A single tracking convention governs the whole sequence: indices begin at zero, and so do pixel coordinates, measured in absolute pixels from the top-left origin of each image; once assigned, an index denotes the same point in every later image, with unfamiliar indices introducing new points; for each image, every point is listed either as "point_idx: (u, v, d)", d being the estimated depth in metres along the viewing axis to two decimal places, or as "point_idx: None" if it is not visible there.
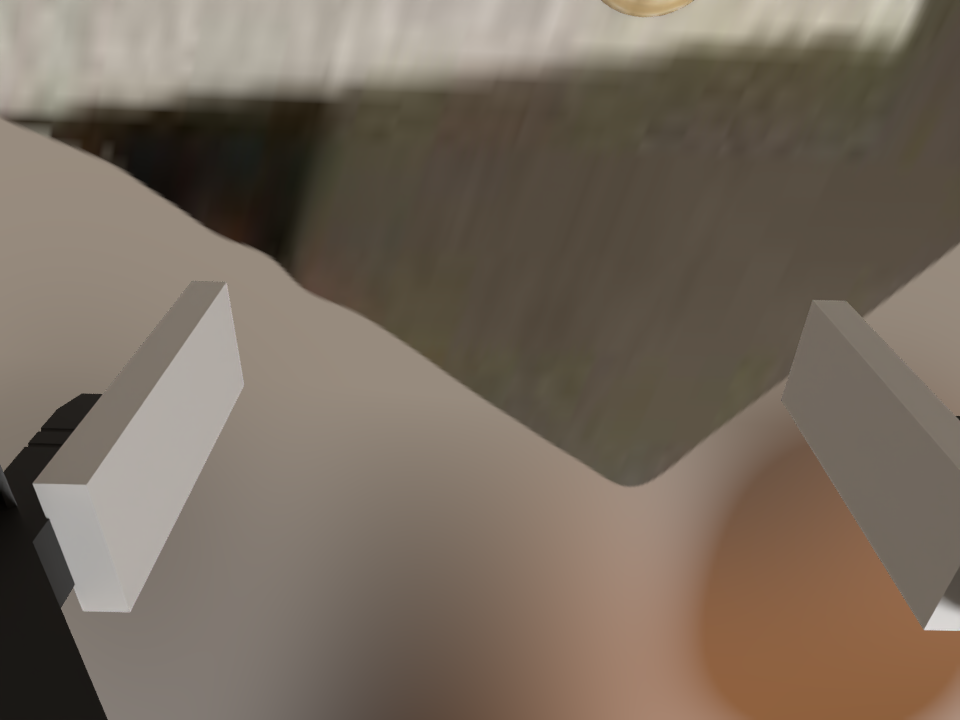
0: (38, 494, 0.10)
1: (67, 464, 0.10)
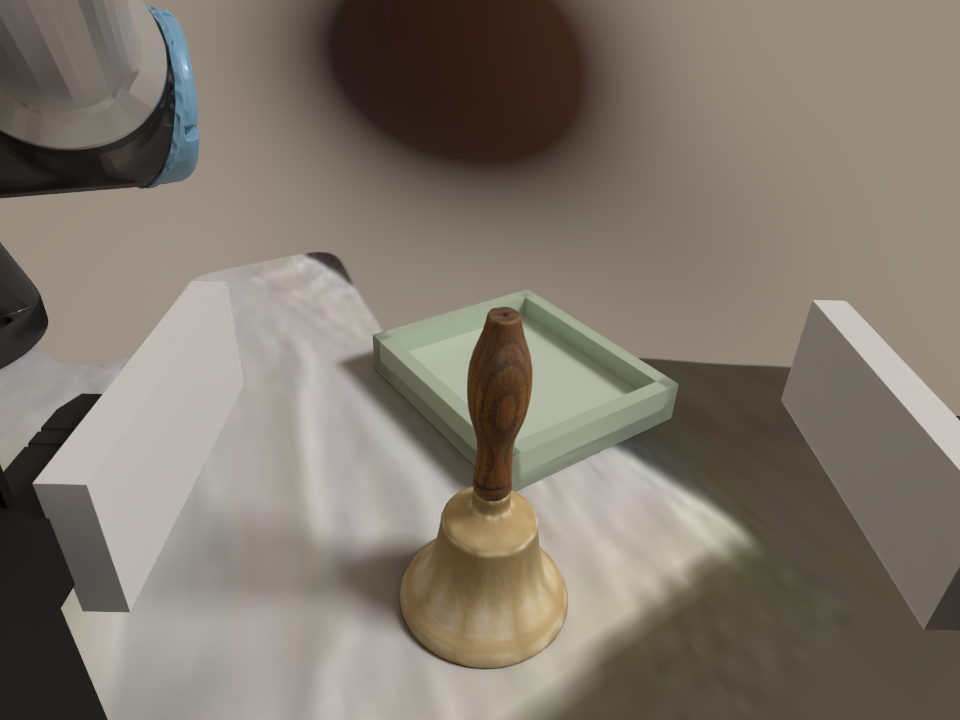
0: (38, 494, 0.10)
1: (67, 464, 0.10)
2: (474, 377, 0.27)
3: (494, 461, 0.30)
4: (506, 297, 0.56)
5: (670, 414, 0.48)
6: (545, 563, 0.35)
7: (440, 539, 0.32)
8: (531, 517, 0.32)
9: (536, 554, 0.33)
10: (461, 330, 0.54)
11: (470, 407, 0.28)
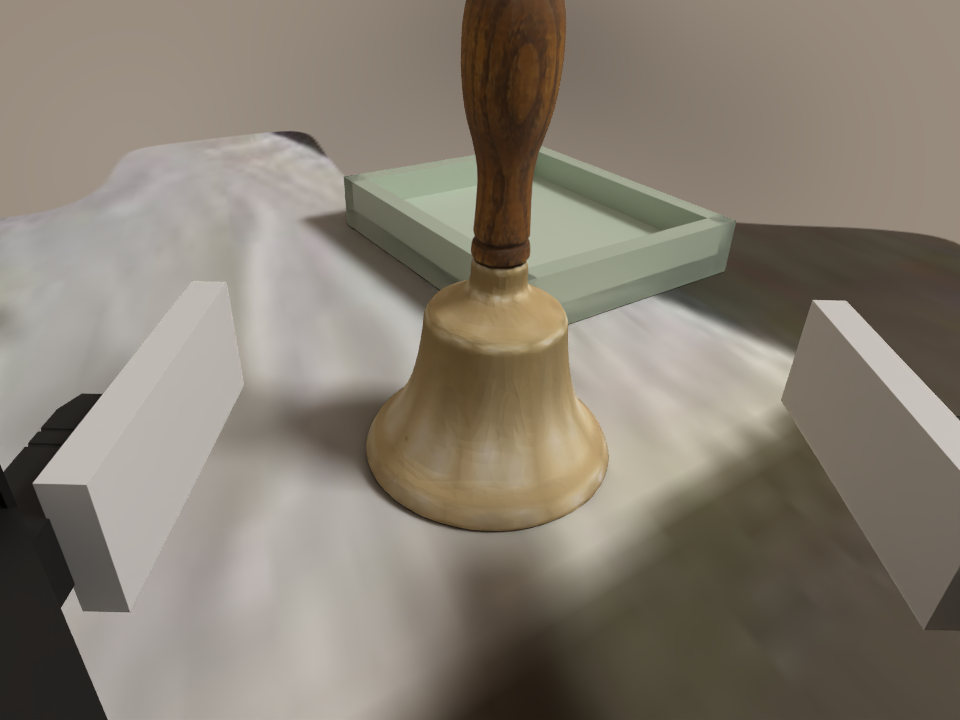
0: (38, 494, 0.10)
1: (67, 464, 0.10)
2: (472, 19, 0.17)
3: (504, 193, 0.19)
4: None
5: (723, 264, 0.37)
6: None
7: (423, 343, 0.22)
8: (558, 309, 0.22)
9: (565, 366, 0.22)
10: (456, 183, 0.43)
11: (466, 86, 0.18)
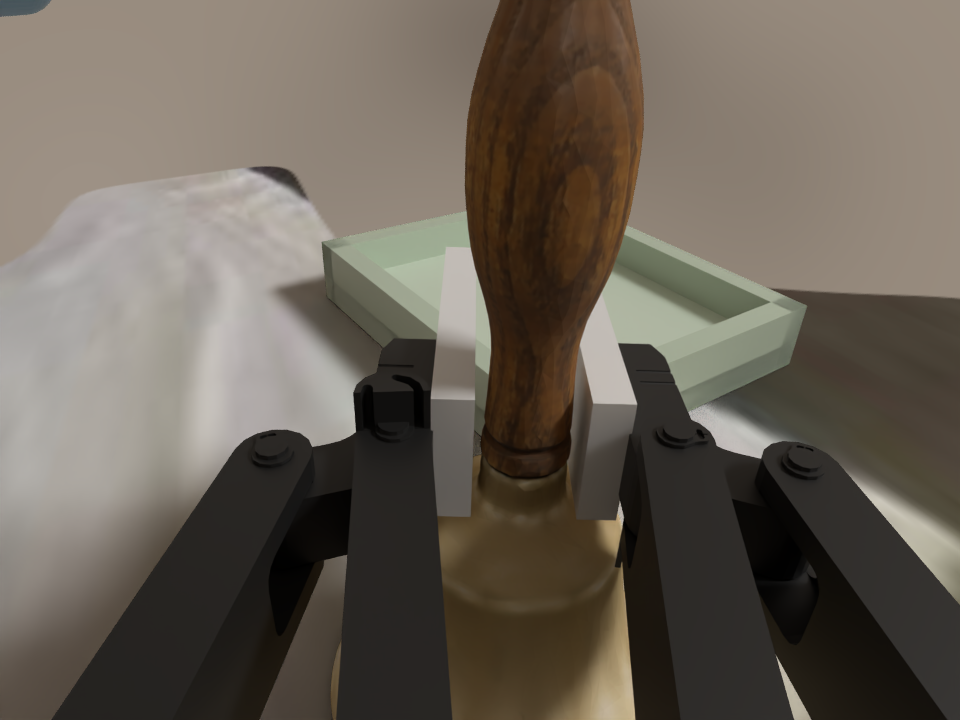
0: (431, 408, 0.12)
1: (447, 385, 0.12)
2: (485, 120, 0.10)
3: (535, 379, 0.12)
4: None
5: (788, 356, 0.30)
6: None
7: None
8: None
9: (620, 600, 0.15)
10: (458, 244, 0.36)
11: (474, 224, 0.11)
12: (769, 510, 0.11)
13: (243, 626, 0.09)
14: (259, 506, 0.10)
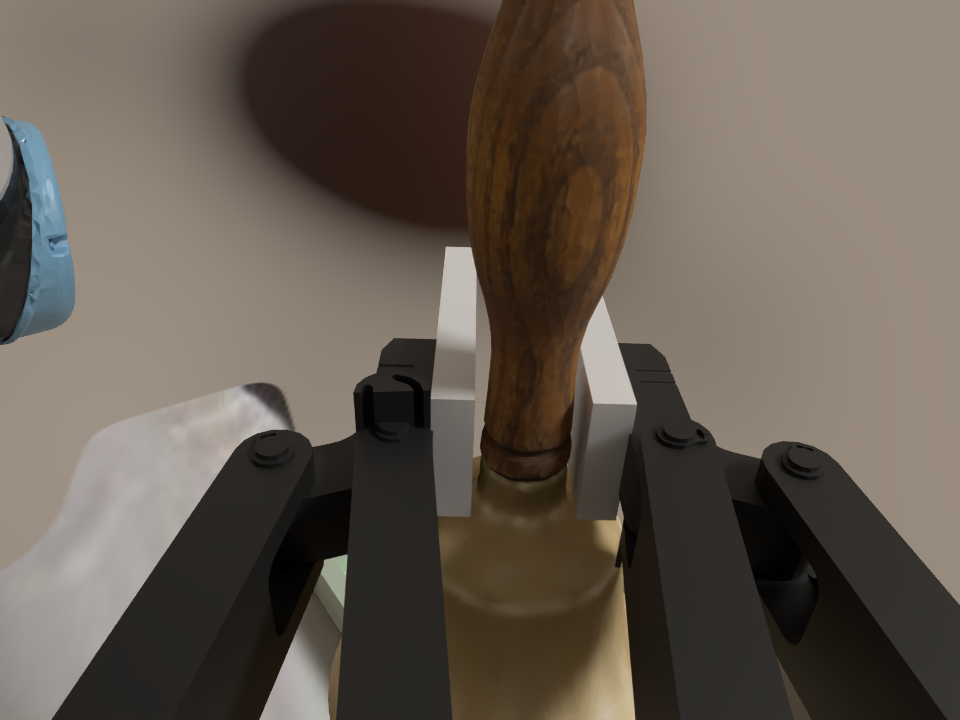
0: (431, 408, 0.12)
1: (448, 385, 0.12)
2: (486, 121, 0.10)
3: (535, 381, 0.12)
4: None
5: None
6: None
7: None
8: (610, 521, 0.15)
9: (620, 603, 0.15)
10: None
11: (475, 225, 0.11)
12: (768, 509, 0.11)
13: (243, 626, 0.09)
14: (259, 506, 0.10)
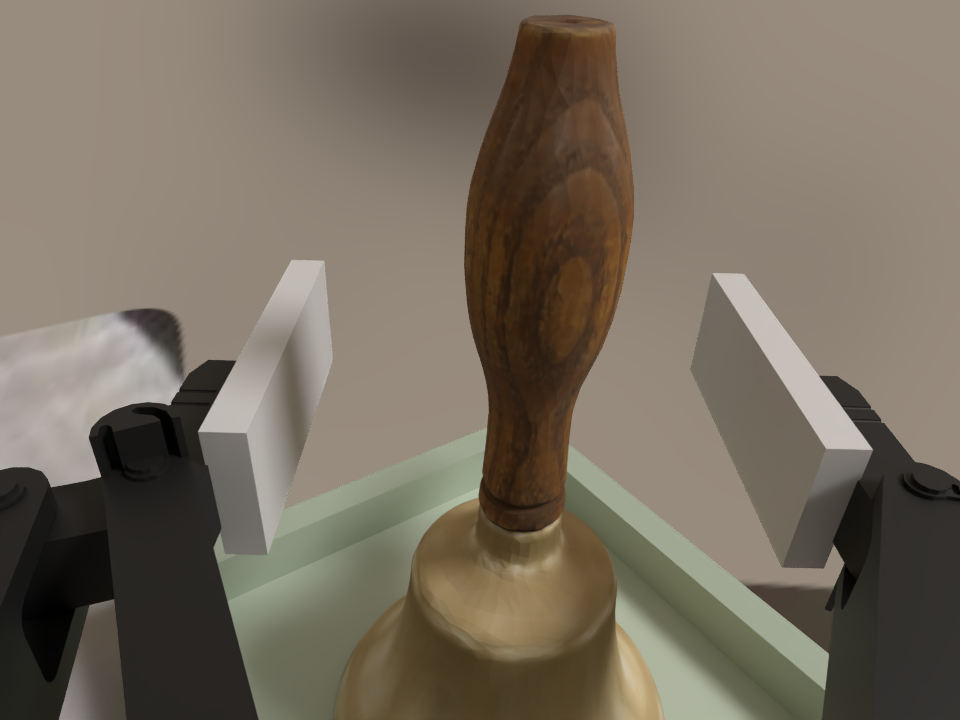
0: (201, 442, 0.11)
1: (224, 416, 0.11)
2: (483, 213, 0.10)
3: (531, 442, 0.12)
4: (480, 437, 0.25)
5: None
6: (622, 650, 0.17)
7: (409, 611, 0.15)
8: (603, 564, 0.15)
9: (613, 642, 0.15)
10: (371, 527, 0.23)
11: (473, 302, 0.11)
12: None
13: None
14: None
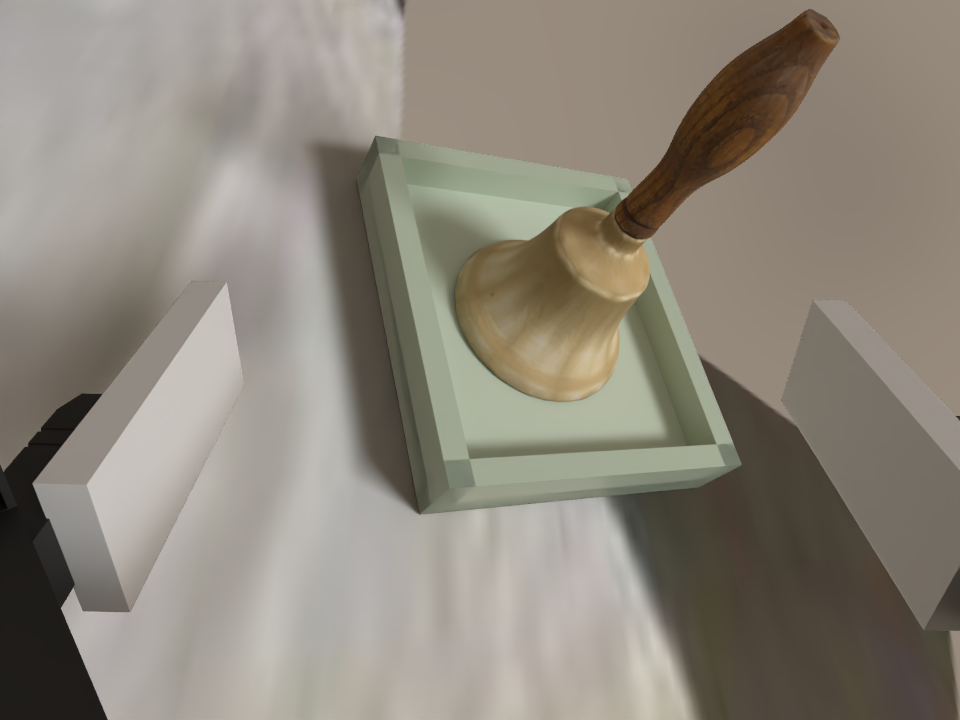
0: (38, 494, 0.10)
1: (67, 464, 0.10)
2: (729, 84, 0.21)
3: (666, 195, 0.24)
4: (593, 178, 0.36)
5: (701, 484, 0.32)
6: None
7: (542, 242, 0.28)
8: (646, 275, 0.28)
9: (625, 313, 0.29)
10: (505, 192, 0.35)
11: (692, 118, 0.22)
12: None
13: None
14: None
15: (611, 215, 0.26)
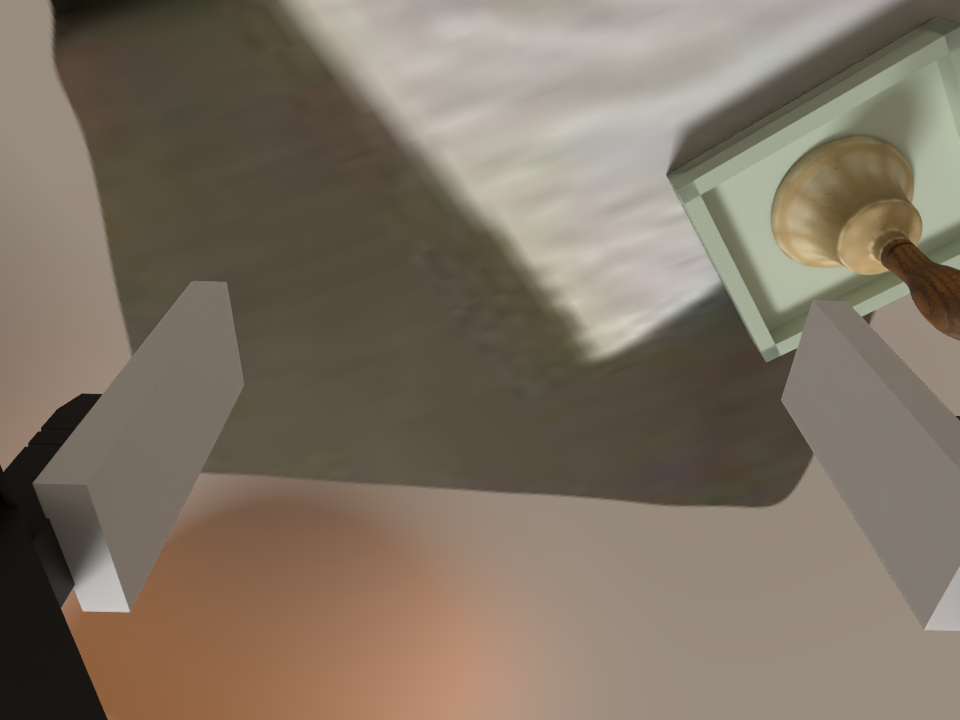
0: (38, 494, 0.10)
1: (67, 464, 0.10)
2: (957, 290, 0.31)
3: (902, 270, 0.35)
4: None
5: None
6: None
7: (875, 193, 0.38)
8: (869, 271, 0.40)
9: None
10: None
11: (943, 273, 0.33)
12: None
13: None
14: None
15: (897, 236, 0.37)
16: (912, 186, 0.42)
